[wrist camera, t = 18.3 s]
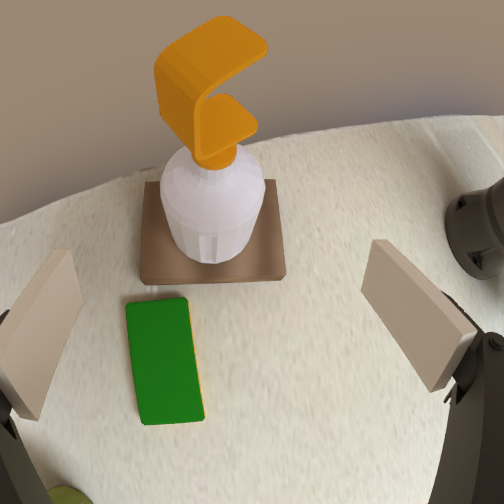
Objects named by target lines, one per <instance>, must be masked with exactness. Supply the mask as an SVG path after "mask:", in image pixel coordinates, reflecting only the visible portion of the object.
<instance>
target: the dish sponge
mask: <svg viewBox="0 0 504 504" xmlns="http://www.w3.org/2000/svg"><path fill="white" fill-rule="evenodd" d="M125 307H126V319H127V330H128V339H129V348H130V356H131V364H132V371H133V378H134V385H135V391H136V397H137V403H138V409H139V414H140V419H141V423H142V424H144V425H160V424H175V423H187V422H197V421H203V420H204V418H205V411H204V405H203V399H202V393H201V387H200V381H199V374H198V368H197V361H196V354H195V347H194V340H193V333H192V325H191V317H190V309H189V302H188V300H187V299H186V298H185V297H182V298H172V299H162V300H152V301H142V302H131V303H127V305H126V306H125Z"/></svg>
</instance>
